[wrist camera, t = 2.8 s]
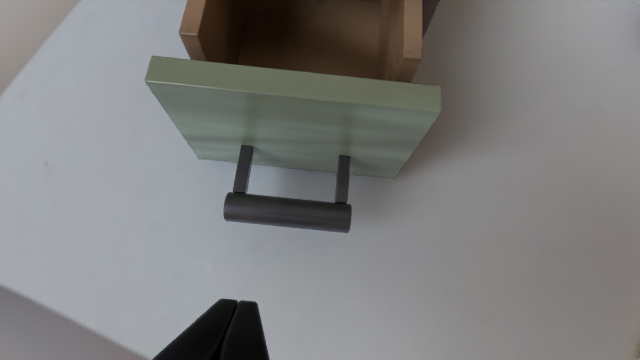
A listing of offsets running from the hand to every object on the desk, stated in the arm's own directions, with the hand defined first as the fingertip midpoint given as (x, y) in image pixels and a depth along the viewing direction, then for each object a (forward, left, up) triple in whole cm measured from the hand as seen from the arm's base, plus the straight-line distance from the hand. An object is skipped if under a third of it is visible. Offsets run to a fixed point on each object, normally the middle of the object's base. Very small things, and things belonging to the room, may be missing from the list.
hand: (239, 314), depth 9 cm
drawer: (+10, -6, -11) cm, 16 cm away
